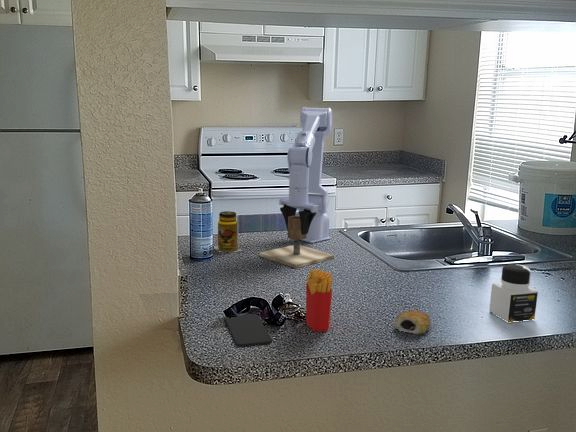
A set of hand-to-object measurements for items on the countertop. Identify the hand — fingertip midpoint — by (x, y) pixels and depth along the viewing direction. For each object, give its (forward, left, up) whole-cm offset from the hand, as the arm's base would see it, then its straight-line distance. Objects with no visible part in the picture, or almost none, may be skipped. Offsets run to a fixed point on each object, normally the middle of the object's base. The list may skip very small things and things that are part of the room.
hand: (297, 231), depth 171 cm
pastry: (+18, +54, -8) cm, 57 cm away
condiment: (+11, -20, -8) cm, 24 cm away
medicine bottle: (-5, +65, -8) cm, 66 cm away
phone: (+46, +32, -8) cm, 57 cm away
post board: (0, 0, -8) cm, 8 cm away
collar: (0, 0, -2) cm, 2 cm away
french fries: (+33, +40, -8) cm, 52 cm away
